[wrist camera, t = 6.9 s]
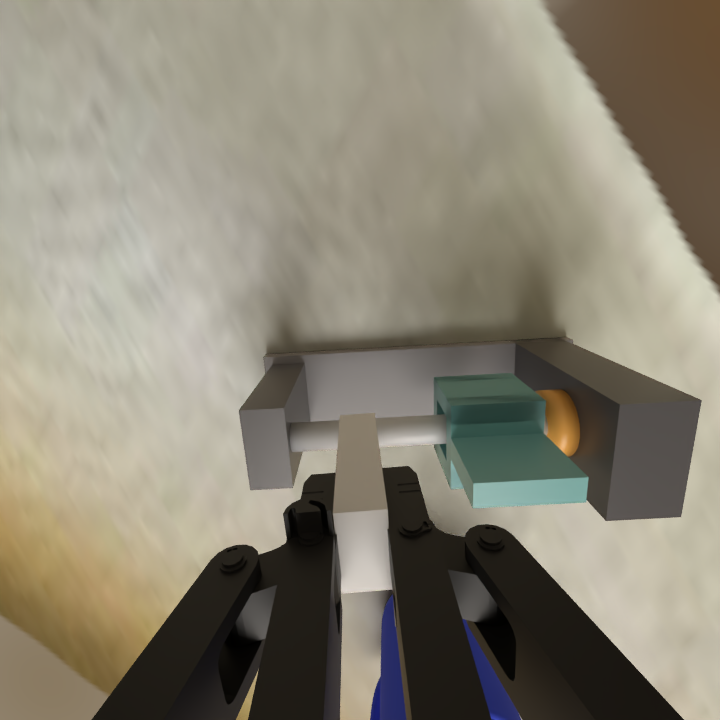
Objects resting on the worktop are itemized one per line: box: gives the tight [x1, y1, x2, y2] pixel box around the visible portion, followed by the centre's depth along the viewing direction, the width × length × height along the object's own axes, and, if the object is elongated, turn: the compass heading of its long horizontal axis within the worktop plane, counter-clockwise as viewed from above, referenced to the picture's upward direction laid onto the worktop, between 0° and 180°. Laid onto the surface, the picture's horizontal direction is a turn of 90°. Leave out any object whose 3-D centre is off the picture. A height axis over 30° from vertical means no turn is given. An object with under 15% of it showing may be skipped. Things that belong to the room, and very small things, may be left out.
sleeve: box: [434, 373, 589, 508], centre depth 18 cm, size 4×4×8 cm
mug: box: [370, 594, 521, 720], centre depth 27 cm, size 8×12×10 cm
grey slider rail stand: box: [239, 337, 702, 521], centre depth 21 cm, size 19×5×11 cm, turn 93°
